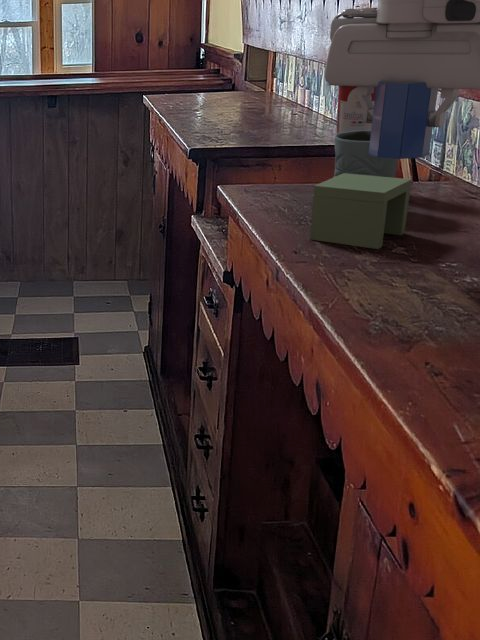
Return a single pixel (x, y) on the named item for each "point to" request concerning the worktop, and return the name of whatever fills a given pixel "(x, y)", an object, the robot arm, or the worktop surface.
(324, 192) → the shelf
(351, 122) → the liquor
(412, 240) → the worktop surface
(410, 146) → the cup
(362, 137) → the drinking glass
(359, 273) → the worktop surface
